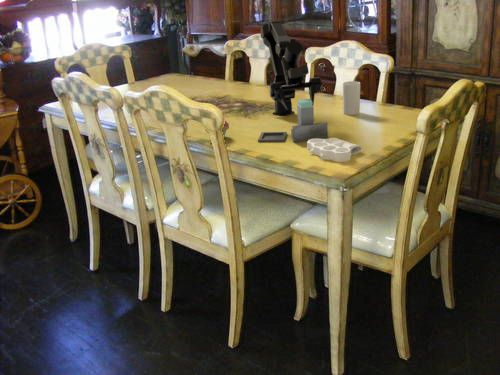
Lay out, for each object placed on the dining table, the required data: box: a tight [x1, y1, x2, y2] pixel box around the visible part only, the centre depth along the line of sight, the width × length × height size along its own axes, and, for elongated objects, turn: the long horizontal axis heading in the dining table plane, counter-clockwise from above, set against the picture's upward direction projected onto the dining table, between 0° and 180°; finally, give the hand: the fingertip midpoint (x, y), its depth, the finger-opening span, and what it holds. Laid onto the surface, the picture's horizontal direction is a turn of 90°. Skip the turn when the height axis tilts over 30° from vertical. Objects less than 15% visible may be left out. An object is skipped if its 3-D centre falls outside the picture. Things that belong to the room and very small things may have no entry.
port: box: [290, 121, 329, 144], centre depth 209 cm, size 10×12×6 cm
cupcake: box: [205, 104, 230, 138], centre depth 213 cm, size 9×8×12 cm
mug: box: [342, 80, 361, 116], centre depth 236 cm, size 10×7×12 cm, turn 17°
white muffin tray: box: [306, 137, 363, 163], centre depth 193 cm, size 3×18×15 cm
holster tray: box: [257, 131, 288, 143], centre depth 211 cm, size 9×9×1 cm
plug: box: [297, 98, 315, 125], centre depth 209 cm, size 4×4×13 cm
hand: (300, 107), depth 215 cm, fingers open, 9 cm apart
